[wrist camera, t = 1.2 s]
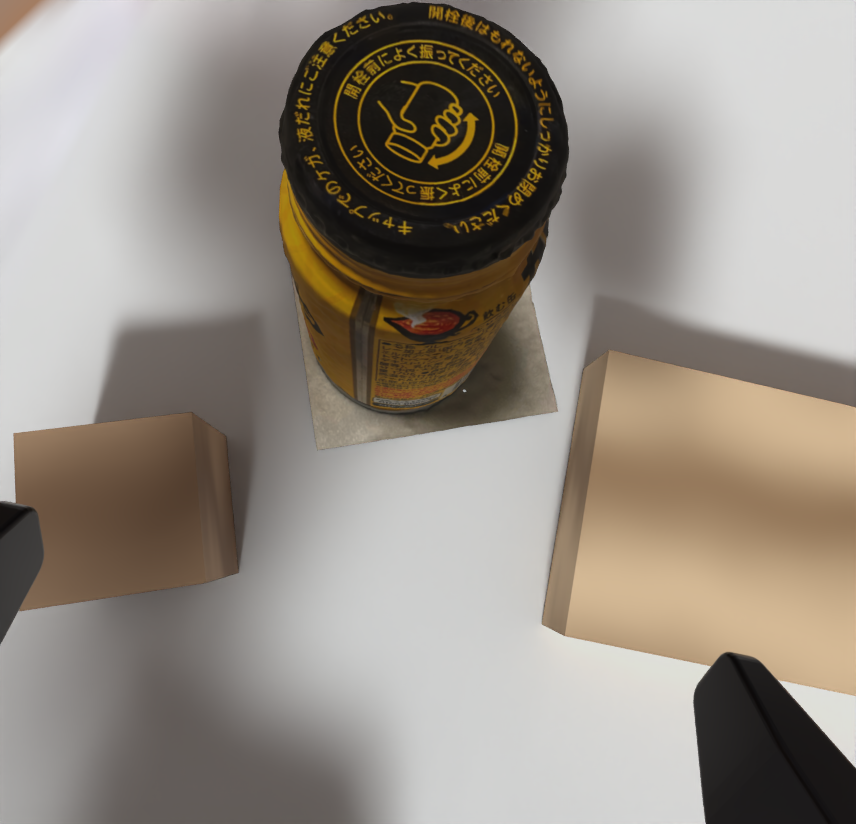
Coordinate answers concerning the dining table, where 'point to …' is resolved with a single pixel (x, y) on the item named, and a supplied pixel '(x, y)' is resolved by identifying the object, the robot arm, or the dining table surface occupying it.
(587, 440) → the foundation
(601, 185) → the dining table surface
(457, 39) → the condiment
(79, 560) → the block
